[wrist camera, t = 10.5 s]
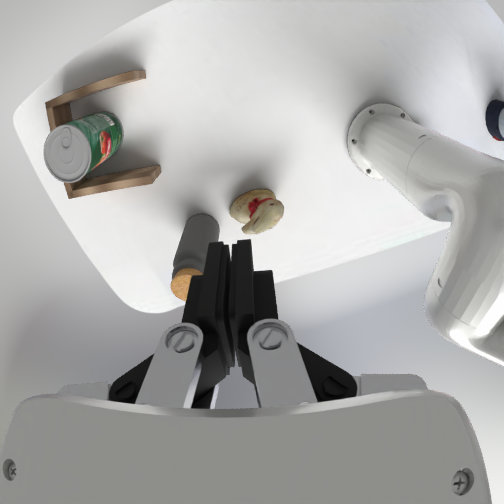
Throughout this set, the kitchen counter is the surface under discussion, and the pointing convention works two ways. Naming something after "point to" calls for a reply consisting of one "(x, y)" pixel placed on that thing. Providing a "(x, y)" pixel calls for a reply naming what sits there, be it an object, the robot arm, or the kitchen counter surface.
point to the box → (62, 114)
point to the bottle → (192, 252)
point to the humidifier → (495, 119)
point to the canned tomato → (82, 145)
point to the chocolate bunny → (257, 211)
